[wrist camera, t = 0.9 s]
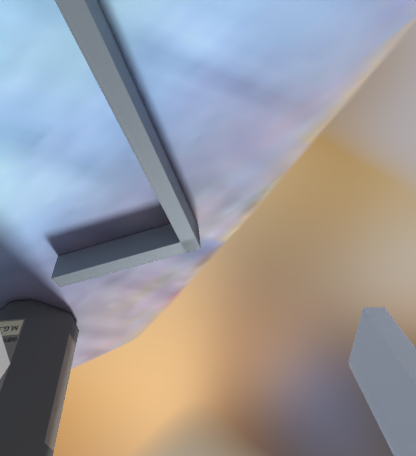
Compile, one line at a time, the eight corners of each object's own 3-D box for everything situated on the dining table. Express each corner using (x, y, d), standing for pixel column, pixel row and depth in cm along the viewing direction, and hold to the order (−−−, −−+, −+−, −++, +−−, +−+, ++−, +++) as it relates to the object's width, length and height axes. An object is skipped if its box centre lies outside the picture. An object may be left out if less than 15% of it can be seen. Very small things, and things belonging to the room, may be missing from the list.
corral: (-158, 22, 21) (-196, 35, 19) (64, -74, 19) (51, -72, 17) (66, 264, 37) (59, 287, 35) (198, 227, 35) (200, 248, 33)
